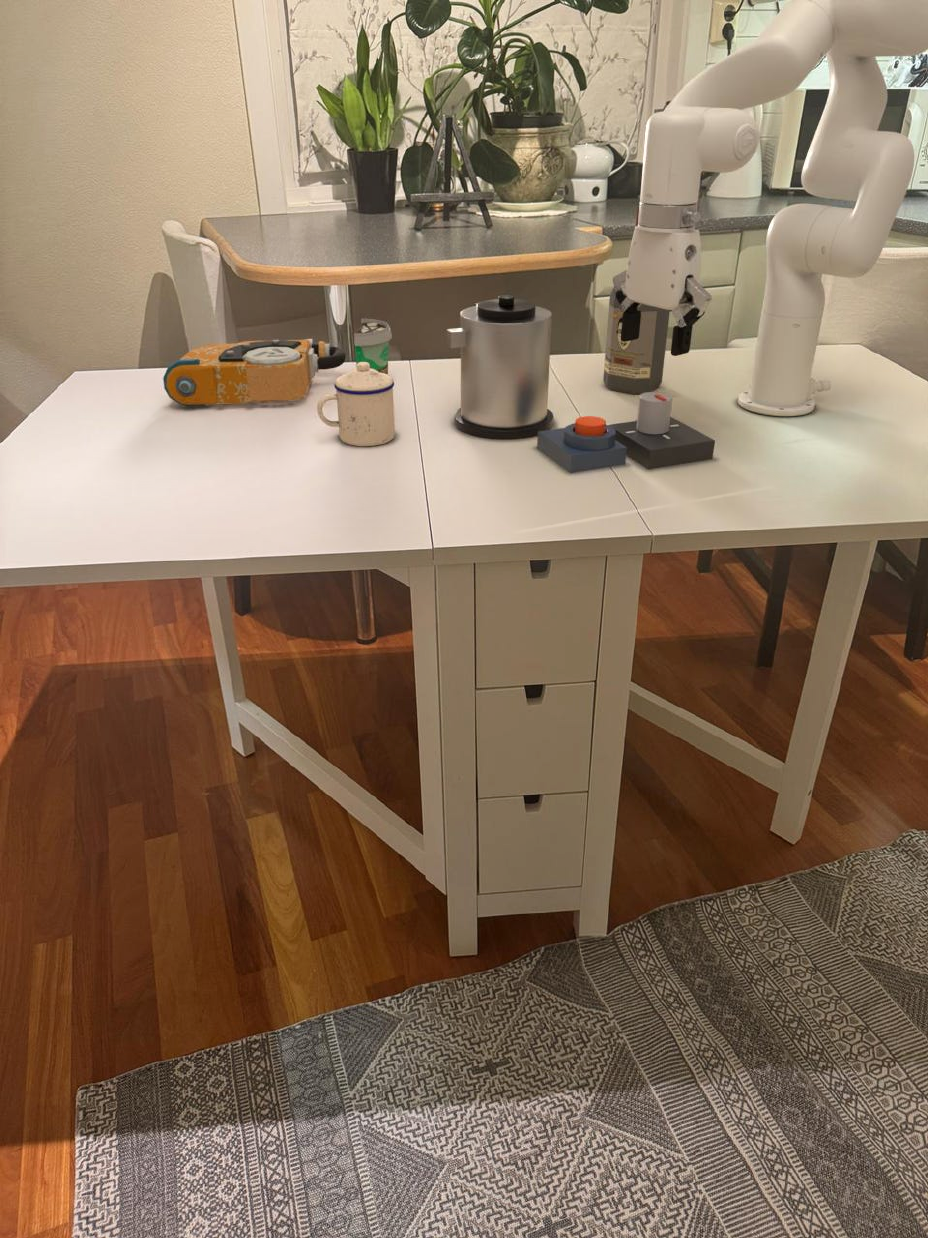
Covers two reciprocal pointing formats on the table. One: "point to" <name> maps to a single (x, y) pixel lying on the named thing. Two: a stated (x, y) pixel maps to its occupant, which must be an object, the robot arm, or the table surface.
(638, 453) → the console
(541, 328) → the kettle
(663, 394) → the dial
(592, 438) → the button housing
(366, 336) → the food container
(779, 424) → the table surface
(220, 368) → the device
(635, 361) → the liquor
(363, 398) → the teacup with lid
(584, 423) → the button
